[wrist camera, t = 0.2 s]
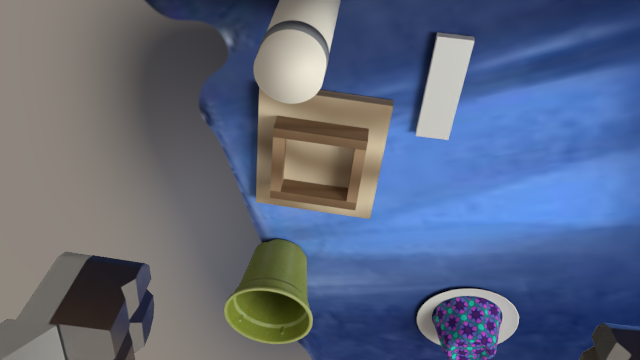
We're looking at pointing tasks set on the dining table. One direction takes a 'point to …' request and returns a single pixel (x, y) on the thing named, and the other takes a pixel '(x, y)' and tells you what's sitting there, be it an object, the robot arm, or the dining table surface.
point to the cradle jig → (322, 152)
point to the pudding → (468, 323)
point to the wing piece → (444, 85)
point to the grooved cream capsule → (296, 49)
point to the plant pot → (272, 295)
